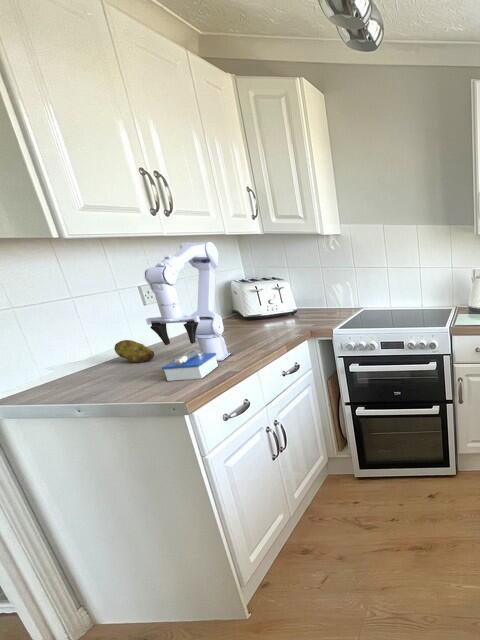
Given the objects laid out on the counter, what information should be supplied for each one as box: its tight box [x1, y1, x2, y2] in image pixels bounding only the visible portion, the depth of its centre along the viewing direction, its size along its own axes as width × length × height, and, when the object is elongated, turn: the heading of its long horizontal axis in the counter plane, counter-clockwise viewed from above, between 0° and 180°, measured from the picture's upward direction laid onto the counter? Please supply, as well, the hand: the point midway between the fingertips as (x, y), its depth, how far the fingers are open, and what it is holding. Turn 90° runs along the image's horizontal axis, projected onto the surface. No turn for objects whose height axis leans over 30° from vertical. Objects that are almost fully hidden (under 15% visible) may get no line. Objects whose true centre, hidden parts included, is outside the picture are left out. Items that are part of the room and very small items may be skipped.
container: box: [161, 353, 219, 382], centre depth 144 cm, size 15×11×5 cm
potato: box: [113, 339, 155, 363], centre depth 158 cm, size 8×13×8 cm, turn 65°
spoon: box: [174, 349, 205, 366], centre depth 142 cm, size 16×5×3 cm, turn 15°
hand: (180, 343), depth 142 cm, fingers open, 7 cm apart
